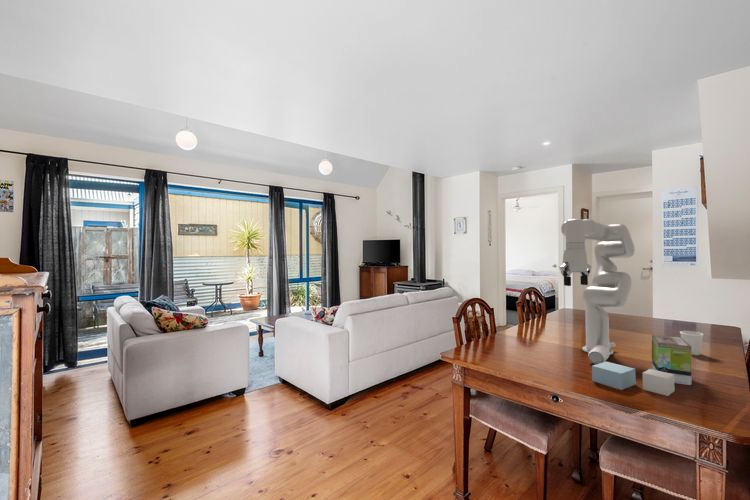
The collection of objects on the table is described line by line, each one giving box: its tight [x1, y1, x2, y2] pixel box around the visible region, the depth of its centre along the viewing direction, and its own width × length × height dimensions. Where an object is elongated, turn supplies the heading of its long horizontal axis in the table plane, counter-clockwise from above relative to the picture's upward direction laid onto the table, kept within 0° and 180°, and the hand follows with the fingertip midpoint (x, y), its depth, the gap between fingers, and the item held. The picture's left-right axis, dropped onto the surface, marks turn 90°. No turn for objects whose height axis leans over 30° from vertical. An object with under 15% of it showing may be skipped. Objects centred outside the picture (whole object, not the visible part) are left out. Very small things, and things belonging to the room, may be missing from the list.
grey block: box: [641, 368, 675, 397], centre depth 121 cm, size 7×7×6 cm
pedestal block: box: [591, 361, 637, 391], centre depth 129 cm, size 10×10×6 cm
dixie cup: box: [679, 330, 704, 356], centre depth 163 cm, size 8×8×10 cm
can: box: [587, 345, 611, 365], centre depth 152 cm, size 6×6×12 cm
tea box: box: [651, 334, 693, 386], centre depth 133 cm, size 15×10×15 cm
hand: (575, 285), depth 153 cm, fingers open, 9 cm apart
